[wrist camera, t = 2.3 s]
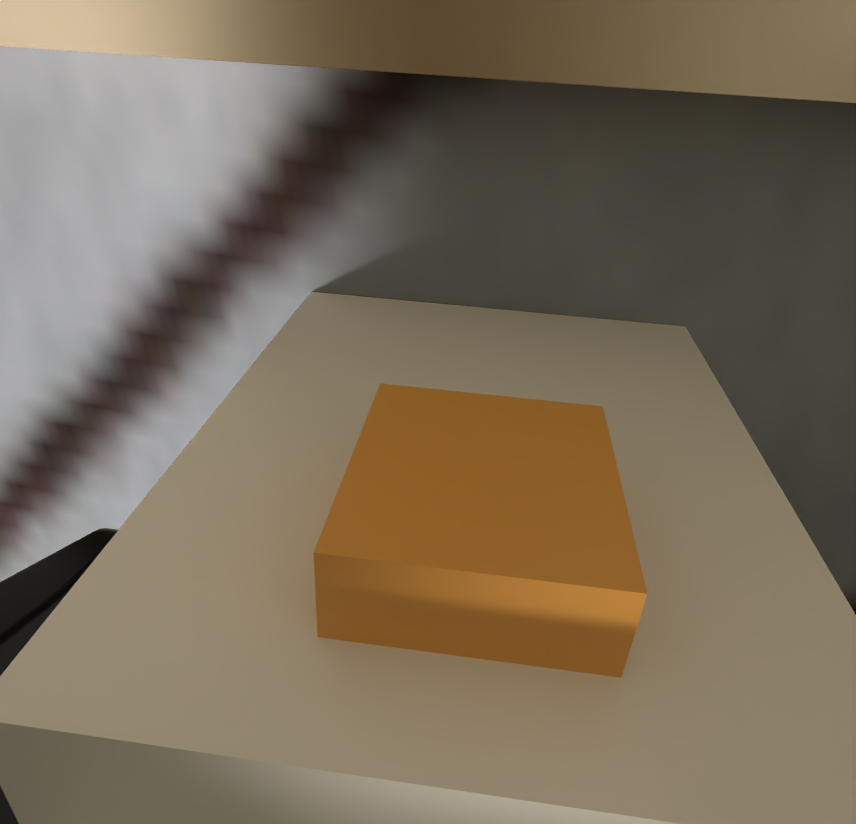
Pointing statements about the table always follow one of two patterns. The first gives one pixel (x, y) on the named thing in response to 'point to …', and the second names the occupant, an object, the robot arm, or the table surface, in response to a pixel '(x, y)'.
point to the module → (449, 598)
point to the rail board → (482, 39)
